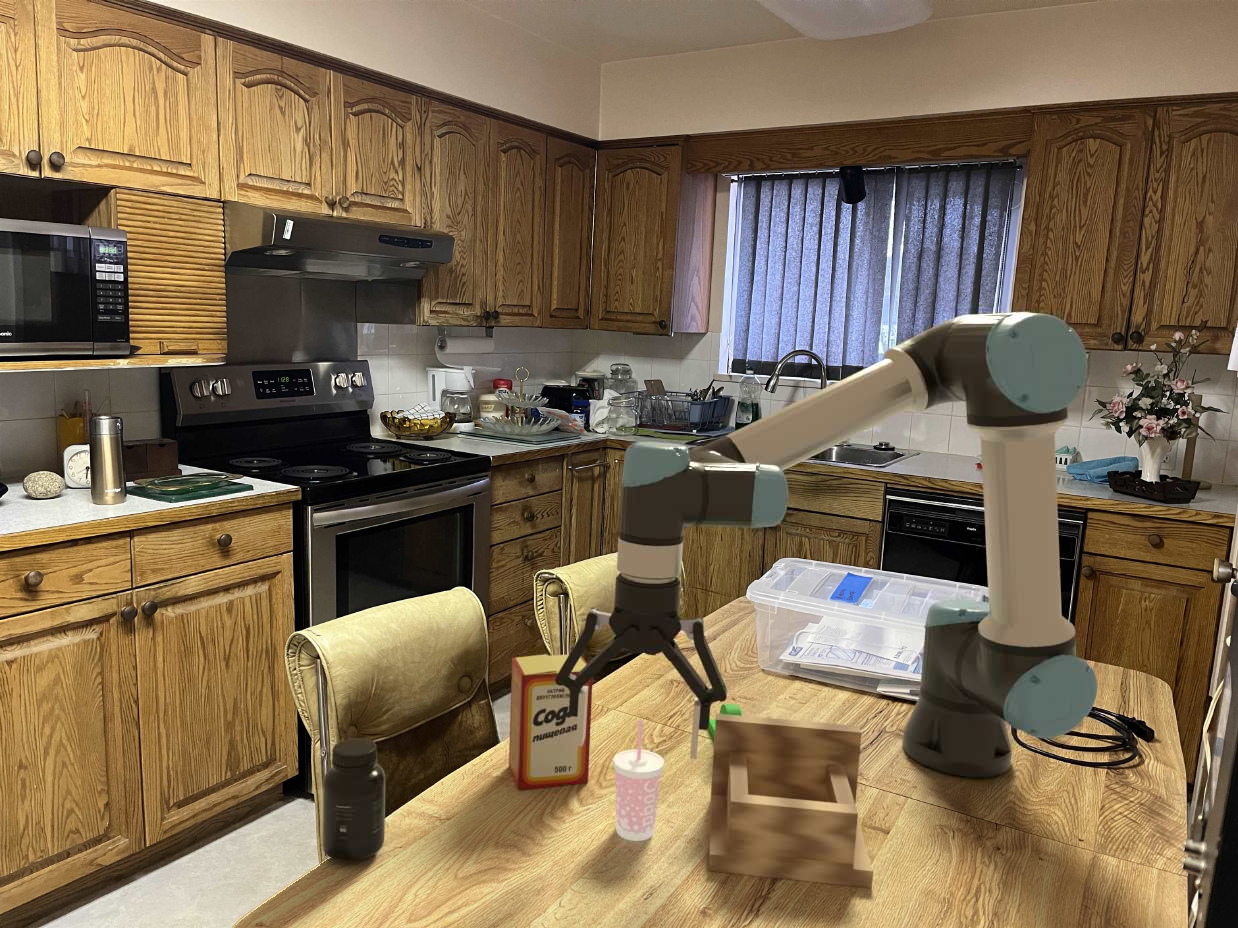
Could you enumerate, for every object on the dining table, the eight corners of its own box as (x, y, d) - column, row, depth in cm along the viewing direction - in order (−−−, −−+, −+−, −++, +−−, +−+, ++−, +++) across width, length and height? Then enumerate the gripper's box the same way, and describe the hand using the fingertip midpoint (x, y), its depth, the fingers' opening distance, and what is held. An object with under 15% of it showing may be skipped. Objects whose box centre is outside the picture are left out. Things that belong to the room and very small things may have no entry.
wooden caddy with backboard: (851, 815, 118) (859, 725, 116) (871, 887, 102) (880, 785, 100) (710, 801, 119) (716, 713, 118) (708, 870, 104) (715, 769, 102)
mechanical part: (767, 766, 131) (771, 713, 130) (726, 767, 130) (729, 713, 129) (745, 731, 142) (748, 681, 141) (707, 731, 142) (710, 681, 141)
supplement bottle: (309, 855, 103) (310, 753, 101) (344, 825, 109) (345, 730, 108) (363, 868, 101) (364, 764, 99) (395, 837, 107) (397, 739, 106)
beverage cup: (622, 847, 107) (627, 734, 106) (602, 822, 113) (607, 713, 111) (668, 838, 110) (675, 727, 108) (647, 813, 115) (652, 707, 114)
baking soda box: (575, 760, 129) (579, 651, 127) (588, 782, 123) (593, 667, 121) (508, 767, 126) (512, 655, 124) (518, 789, 120) (522, 672, 118)
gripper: (754, 576, 110) (740, 745, 112) (549, 558, 112) (540, 724, 115) (757, 592, 102) (742, 773, 105) (536, 573, 105) (527, 749, 108)
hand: (636, 747), depth 110 cm, fingers open, 13 cm apart
